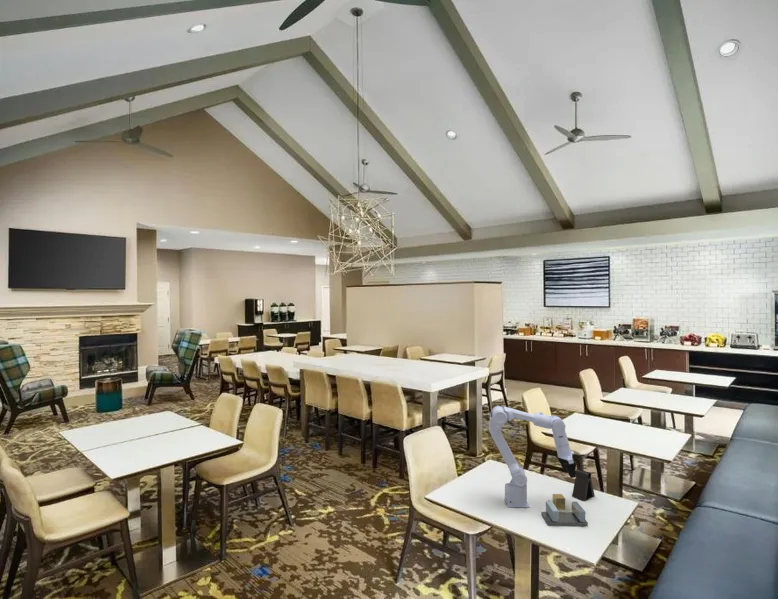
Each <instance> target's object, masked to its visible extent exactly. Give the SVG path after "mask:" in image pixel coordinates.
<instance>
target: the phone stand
mask: <svg viewBox="0 0 778 599" xmlns="http://www.w3.org/2000/svg"><path fill="white" fill-rule="evenodd" d="M573 484H574V485H573V490H572V492H571V493H572V494H571V496H572V498H575V499H577V500H580V501H582V502H587V501H589V500H590V499H593V498H594V497H595V496H596V495H595V490H594V487H593V482H592V473H591V472H589V471H586V470H582V469H580V468H577V469H576V477H575V479H574V483H573Z"/></svg>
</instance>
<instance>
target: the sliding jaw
mask: <svg viewBox="0 0 778 599" xmlns="http://www.w3.org/2000/svg"><path fill="white" fill-rule="evenodd" d="M545 512H547V513H548V515H549V516H550V518H551V519H552V521H556V522H558V514H559V512H560V510H557V508H556V507H555V506H554V504H553V501H551V500H546V501H545Z"/></svg>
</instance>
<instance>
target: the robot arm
mask: <svg viewBox="0 0 778 599" xmlns="http://www.w3.org/2000/svg"><path fill="white" fill-rule="evenodd" d="M514 419H515V420H516V419H517V420H521V421H527V422H530V423H532V424H533V425H534V426H536V427H540V428H544V429H548V430H549V429H550V430H551V431H552V438H553V441H554V445H555V449H556V452H557V453H556V454H557V455H555V458H556V459H557V461H558V462H559V463H560V465H561V468H562V469H563V472H565V473H566V472H567V473H568V476H569V478H570V479H574V478H576V470H577V469H576V468H577V464H578V461H576V460H574V458H573V455H575V452H574V451H573V450H571V446H570V443H569V442H570V441H569V439H568V435H567V432H566V424H565V422H564V421H563V420H562V418H560V417H559V416H558V415H553V414H552V415H551V414H550V415H548V414H544V413H543V412H542V411H539V412H535V413H534V414H532V413H529V412H525V411H522V410H518V409H515V408H512V407H508V406H501V405H496V406H494V407H493V408H492V409H491V411H490V413H489V423H488V431H489V434H490V436H491V438H492V440H493V441H494V443H495V445H496V447H497V449H498V451H499V453H500V455H501V457H502V458H503V460H504V462H505V464H506V466H507V468H508V471H509V473H510V476H511V479H510V482H507V483H505V484H504V502H505V504H506V505H507V507H508V508H530V507H531V506H530V504H529V503H528V477H527V475H526V473H525V470H524V467H522V466H521V465H520V464H519V462H518V461H517V459H516V457H515V456H514V454H513V452H512V449H511V448H510V447H509V445H508V442H507V441H506V439H505V437H504V436H503V433H502V431H501V430H502V428H503V426H504V425H505V424H506V423H507V421H508V422H511V421H512V420H514Z"/></svg>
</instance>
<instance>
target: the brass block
mask: <svg viewBox="0 0 778 599" xmlns="http://www.w3.org/2000/svg"><path fill="white" fill-rule="evenodd" d="M552 503H553V504H554V506H555V507H556V508H557V510H558V511H564V510H566V498H565V496H564V495H563V493H552Z"/></svg>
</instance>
